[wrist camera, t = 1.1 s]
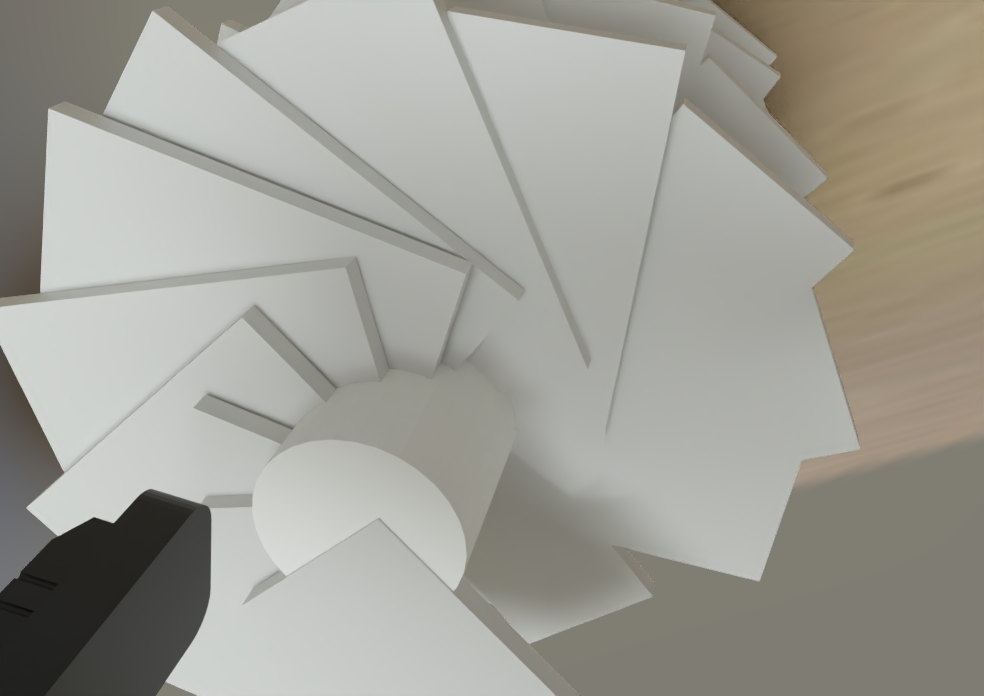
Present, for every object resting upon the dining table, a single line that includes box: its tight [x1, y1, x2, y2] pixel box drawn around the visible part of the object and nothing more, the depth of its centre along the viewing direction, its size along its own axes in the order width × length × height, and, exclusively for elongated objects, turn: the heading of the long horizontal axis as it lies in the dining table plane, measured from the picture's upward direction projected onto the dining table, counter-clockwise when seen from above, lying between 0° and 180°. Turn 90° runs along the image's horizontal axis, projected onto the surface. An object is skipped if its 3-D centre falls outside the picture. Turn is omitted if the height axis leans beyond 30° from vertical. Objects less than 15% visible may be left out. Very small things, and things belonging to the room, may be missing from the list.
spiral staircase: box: [0, 0, 860, 696], centre depth 27 cm, size 18×18×25 cm
